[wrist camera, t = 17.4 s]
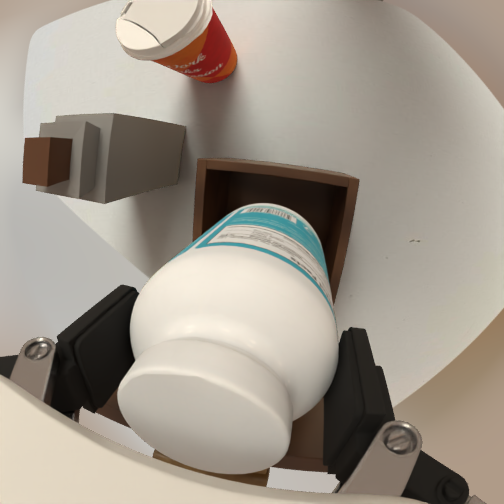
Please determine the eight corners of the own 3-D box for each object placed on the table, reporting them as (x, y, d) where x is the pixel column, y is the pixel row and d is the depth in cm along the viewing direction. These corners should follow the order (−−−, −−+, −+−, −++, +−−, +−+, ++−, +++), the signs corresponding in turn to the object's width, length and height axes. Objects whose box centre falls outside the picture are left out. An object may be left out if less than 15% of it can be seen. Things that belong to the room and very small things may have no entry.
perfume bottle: (177, 183, 32) (63, 217, 15) (129, 176, 32) (11, 203, 16) (185, 126, 29) (71, 108, 13) (136, 123, 30) (16, 115, 13)
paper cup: (170, 80, 28) (94, 47, 15) (200, 27, 25) (143, -30, 12) (228, 102, 28) (172, 67, 15) (260, 45, 25) (228, -21, 12)
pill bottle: (239, 320, 21) (166, 486, 8) (193, 227, 19) (36, 341, 6) (339, 288, 18) (366, 479, 6) (299, 182, 17) (278, 259, 4)
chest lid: (76, 390, 10) (87, 462, 10) (360, 460, 8) (325, 526, 8) (189, 325, 26) (184, 371, 26) (322, 349, 25) (310, 396, 25)
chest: (226, 157, 30) (197, 158, 22) (344, 173, 28) (359, 179, 20) (216, 288, 35) (191, 326, 27) (319, 305, 33) (321, 350, 25)
